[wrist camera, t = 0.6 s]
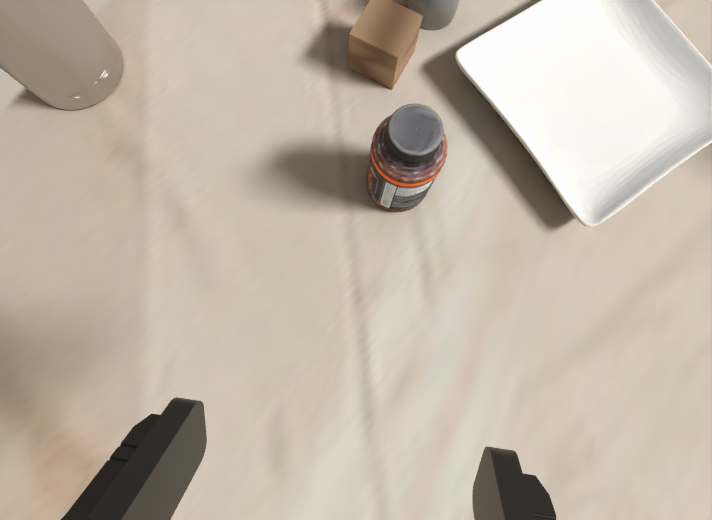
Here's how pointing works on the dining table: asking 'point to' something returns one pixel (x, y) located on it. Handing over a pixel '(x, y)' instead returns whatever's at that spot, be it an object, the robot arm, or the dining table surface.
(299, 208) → the dining table surface
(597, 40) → the salad plate
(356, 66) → the walnut cube
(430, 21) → the grey cylinder
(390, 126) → the supplement bottle
